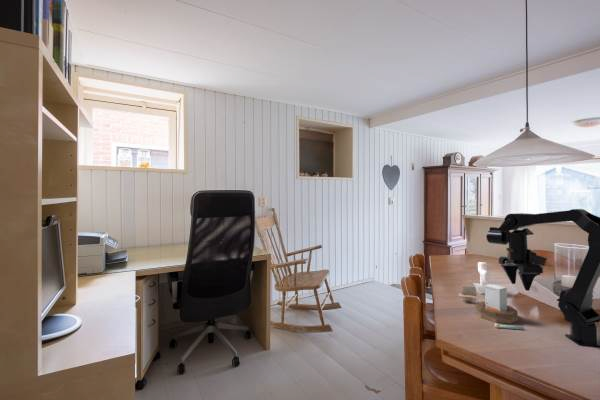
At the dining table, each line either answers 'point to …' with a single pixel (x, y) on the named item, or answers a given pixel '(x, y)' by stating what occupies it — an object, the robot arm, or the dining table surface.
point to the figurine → (482, 278)
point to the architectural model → (469, 293)
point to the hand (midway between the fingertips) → (520, 287)
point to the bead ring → (497, 314)
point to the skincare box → (496, 298)
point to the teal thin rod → (508, 327)
